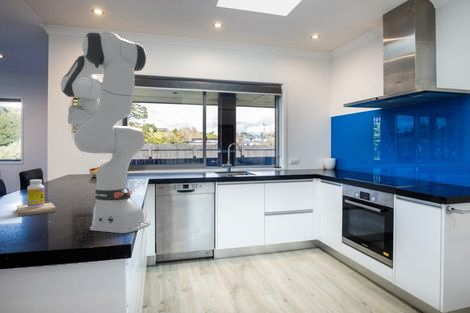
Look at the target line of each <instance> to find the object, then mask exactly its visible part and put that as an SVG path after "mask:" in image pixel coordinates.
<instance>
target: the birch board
mask: <svg viewBox="0 0 470 313" xmlns="http://www.w3.org/2000/svg"><path fill="white" fill-rule="evenodd" d="M16 212H17V216H18V217H24V216H30V215H31V216H32V215H40V214H48V213H57V207H56V206H55V205H54V204H53V203H52V202H45V205H44V206H43V207H38V208H29V207H28V204H23V205H16Z"/></svg>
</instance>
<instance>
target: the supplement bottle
mask: <svg viewBox="0 0 470 313" xmlns="http://www.w3.org/2000/svg"><path fill="white" fill-rule="evenodd" d="M26 189H27V193H26V194H27V197H26V198H27V205H28V207H29V208H38V207H43V206H44V205H45V203H46V202H45V185H43V179H30V180H29V185H28V186H27V188H26Z"/></svg>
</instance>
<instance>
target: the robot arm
mask: <svg viewBox="0 0 470 313" xmlns="http://www.w3.org/2000/svg"><path fill="white" fill-rule="evenodd" d="M81 48H82V52H83V55H80V56H78V57H77V58H76V60H75V61H74V63H73V64H72V66H71V67H70V68H69V69H68V71H67V73H66V74H65V75H64V76H63V77H62V78H61V82H60V89H61V92H62V93H63V94H64V95H65V96H67V97H69V98H78V105H74V104H72V105H70V106H68V115H67V123H68V125H75V128H76V130H75V132H74V134H73V135H74V136H73V141H74V145H75V146H76V149H78V151H80V152H82V153H87V154H88V153H89V154H93V155H94V154H95V155H96V154H112V156H111V158H110V159H109V160H108V161H107V162H105V163H102V164H101V165H100V166H99V167H98V168H97V169H96V175H95V176H96V188H95V191H94V195H95V196H94V199H95V200H96V202H95V205H94V206H93V214H92V223H91V226H90V227H89V230H90V231H94V232H95V231H97V232H106V233H107V232H108V233H117V234H127V233H131V232H136V231H139V230H142V229H145V228H148V227H150V226H151V221H149V220H146V219H145V215H144V214H145V213H144V210H143V208H141V207H140V206H139V205H138V204H137V203H136V202H135V200H133V198H131V195H133V193H132V192H133V190H130V189H129V187H128V174H129V173H128V172H129V167H130V164H131V162H132V160H133V158H134V157H135V156H136V155H137V154H138V153H140V152H141V151H142V150H143V148H144V147H145V144H146V137H145V134H144V132H143V131H142V130H141V129H140V128H136V127H132V126H127V125H124V126H123V125H116V123H118V122H119V121H121V120H124V119H125V118H127V117H128V116H130V114H131V113H132V108H133V101H134V95H135V84H136V82H135V81H136V80H135V72H140V71H142V70H143V69H144V68H145V65H146V62H147V53H146V50H145V48H144V47H143V45H141V44H139V43H137V42H133V41H129V40H127V39H124V38H121V37H120V36H119V35H118V34H116V33H114V32H112V31H110V30H109V31H102V32H101V33H99V32H88V33H86V35H85V37H84V38H83V40H82V46H81ZM96 75H103V77H102V79H99V78H98V77H97V76H96Z"/></svg>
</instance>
